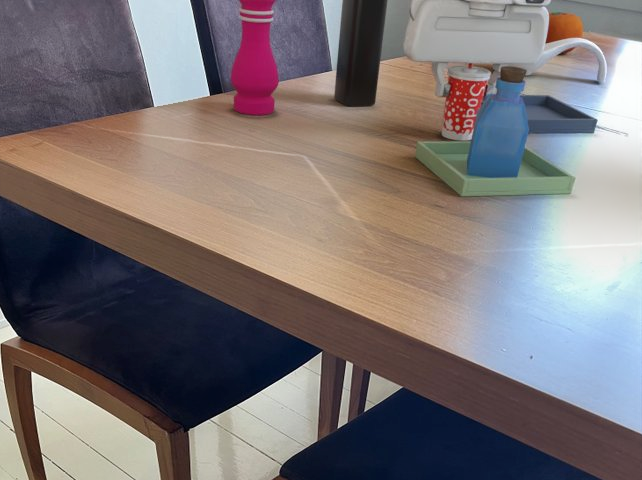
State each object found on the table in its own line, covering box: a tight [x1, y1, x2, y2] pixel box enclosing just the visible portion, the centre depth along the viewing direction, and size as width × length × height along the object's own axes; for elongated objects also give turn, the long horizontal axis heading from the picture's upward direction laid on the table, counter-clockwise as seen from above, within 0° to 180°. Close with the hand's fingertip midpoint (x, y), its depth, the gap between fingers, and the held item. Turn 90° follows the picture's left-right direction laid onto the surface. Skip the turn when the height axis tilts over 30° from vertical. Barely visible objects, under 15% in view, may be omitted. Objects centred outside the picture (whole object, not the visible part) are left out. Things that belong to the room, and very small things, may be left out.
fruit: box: [545, 11, 584, 54], centre depth 169 cm, size 11×10×8 cm
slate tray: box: [481, 94, 599, 134], centre depth 119 cm, size 15×15×2 cm
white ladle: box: [509, 37, 608, 84], centre depth 147 cm, size 24×12×7 cm, turn 79°
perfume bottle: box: [467, 66, 529, 178], centre depth 92 cm, size 6×6×12 cm
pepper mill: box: [230, 0, 280, 116], centre depth 106 cm, size 7×7×20 cm
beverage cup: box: [441, 63, 492, 141], centre depth 105 cm, size 6×6×14 cm
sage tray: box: [414, 140, 576, 197], centre depth 95 cm, size 15×15×2 cm
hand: (464, 96), depth 106 cm, fingers closed on beverage cup, 6 cm apart
